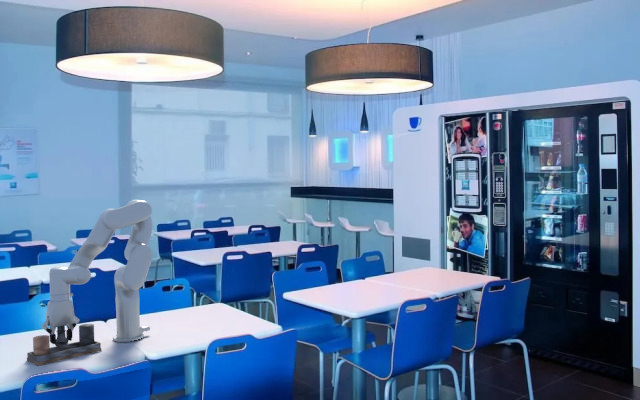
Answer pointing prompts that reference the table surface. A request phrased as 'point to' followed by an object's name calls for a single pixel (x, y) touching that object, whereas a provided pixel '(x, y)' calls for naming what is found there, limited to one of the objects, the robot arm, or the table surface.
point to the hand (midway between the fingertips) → (61, 341)
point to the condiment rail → (63, 347)
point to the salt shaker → (61, 336)
